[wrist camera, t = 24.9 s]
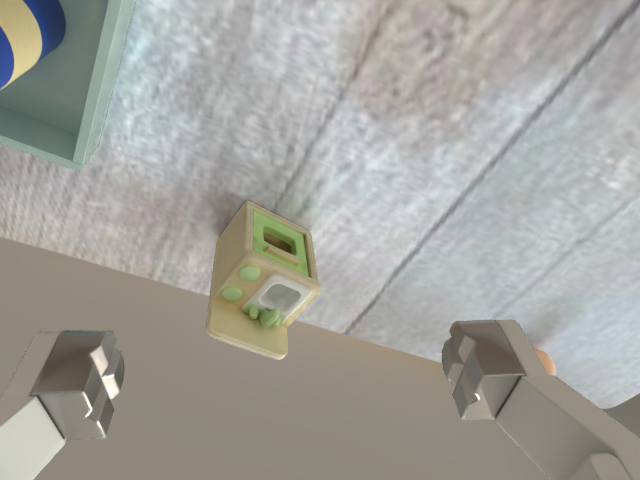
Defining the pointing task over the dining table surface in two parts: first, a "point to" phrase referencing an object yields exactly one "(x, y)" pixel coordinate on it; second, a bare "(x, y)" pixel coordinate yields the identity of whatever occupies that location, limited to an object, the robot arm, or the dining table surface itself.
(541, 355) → the egg
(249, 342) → the toy sink
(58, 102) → the green tray
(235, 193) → the dining table surface
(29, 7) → the snack tube
